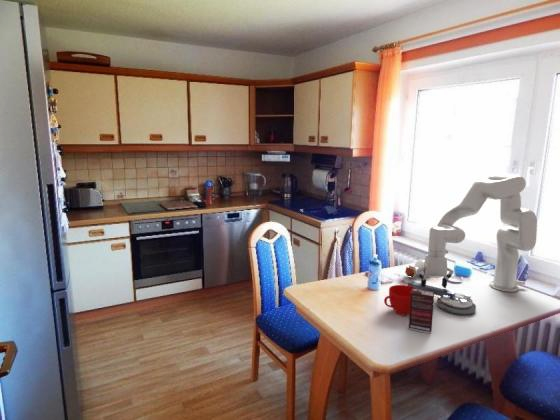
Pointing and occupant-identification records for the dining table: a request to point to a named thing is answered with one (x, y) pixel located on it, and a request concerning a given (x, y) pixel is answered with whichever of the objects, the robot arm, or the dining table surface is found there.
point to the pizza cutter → (446, 296)
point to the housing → (454, 311)
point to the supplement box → (421, 310)
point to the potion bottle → (415, 268)
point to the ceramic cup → (400, 298)
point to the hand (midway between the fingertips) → (433, 287)
